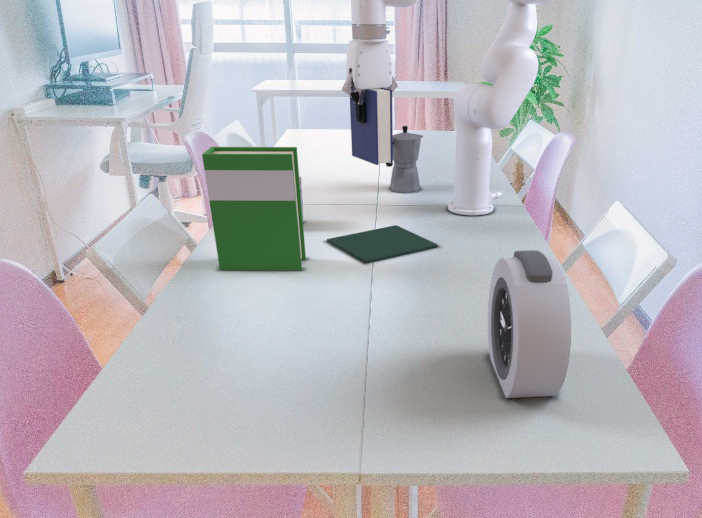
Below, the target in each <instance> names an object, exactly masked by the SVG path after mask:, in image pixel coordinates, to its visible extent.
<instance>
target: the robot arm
mask: <svg viewBox="0 0 702 518" xmlns="http://www.w3.org/2000/svg"><path fill="white" fill-rule="evenodd" d="M418 1H419V0H350V10H351V11H350V12H351V14H350V15H351V39H352V40H349V41H348V44H347V53H346V64H345V65H346V66H345V82H344V84H343V85H342V87H341V92H343V93H344V94H345V95H347V96H348V97H349V99H350V98H351V99H352V100H353V102H354V103H355V104H356V118H357V121H358V122H360V123H365V122H366V106H365V105H364V104H363V102H364V96H365V90H366V89H370V90H371V89H381V88H386V89H391V90H392V93H394V92H395V90H396V89H397V88H398V83H397V82H396V80H395V78H394V77H393V67H392V65H393V64H392V55H391V49H390V43H389V40H387V35H389V34H390V33H391V28H390V27H389V26H387V24H386V23H387V22H386V18H387V17H386V14H387V13H386V7H393V8H409V7H411V6H412V7H413V6H414V5H415V4H416V3H418ZM555 1H556V0H505V4H506V14H505V19H504V22H503V24H502V25H501V26H500V29H499V31H498V32H497V35H496V36H495V38H494V40H492V42H491V45H490V46H489V48H488V50H487V52H486V53H485V55H484V57H483V59H482V61H481V64H480V75H481V77H482V78H483V80H484V81H486V82H487V83H489V84H491V85H489V84H485V83H478V82H471V83H467V84H465V85H463V86H462V87H461V88H459V90H458V91H457V93H456V95H455V97H454V102H453V114H454V122H455V158H454V159H455V160H454V182H453V183H454V184H453V200H452V201H450V202H449V203H448V204H447V210H448V211H450V213H453V214H457V215H463V216H482V215H483V216H484V215H487V214H490V213H492V212H493V211H494V207H495V206H494V204H493V203H492V202H493V201H494V200H499V199H502V197H503V194H502V192H501V191H495V192H493V191H491V190H490V185H491V184H490V183H491V182H490V181H491V169H492V168H491V167H492V152H493V133H492V130H500V129H503V128H505V127H506V126H508V125H509V123H510V122H511V121H512V119H513V118H514V117H515V115H516V114H517V112H518V110H519V109H520V107H521V105H522V104H523V102H524V100H525V99H526V98H527V95H529V93H530V91H531V89H532V87H533V85H534V84H535V81H536V79H537V76H538V72H539V59H538V57H537V54H536V52H535V51H534V50H533V49H532V48H530V47H531V45H532V42H533V41H534V40H535V37H536V34H537V30H538V13H537V6H538V5H539V6H546V5H549V4H552V3H554V2H555ZM536 5H537V6H536ZM351 89H355V92H353V91H352V90H351Z"/></svg>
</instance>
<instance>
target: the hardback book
mask: <svg viewBox="0 0 702 518" xmlns="http://www.w3.org/2000/svg"><path fill="white" fill-rule="evenodd" d="M201 157H202V164H203V169H204V176H205V181H206V189H207V190H206V191H207V195H208V201H209V208H210V209H209V210H210V215H211V221H212V226H213V235H214V240H215V246H216V254H217V260H218V266H219V271H302V270H303V263H302V261H306V260H307V254H306V242H305V231H304V222H303V217H304V216H303V217H302V205H301V192H300V180H299V177H300V169H299V159H298V158H299V157H298V147H297V146H210V147H209V148H208V149H207V150H205V151H204V152H203V153H202V154H201Z"/></svg>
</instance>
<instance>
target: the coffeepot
mask: <svg viewBox="0 0 702 518" xmlns="http://www.w3.org/2000/svg"><path fill="white" fill-rule="evenodd" d="M401 128H402V132H399V133H396V134H393V163H390V162H388V163H385V166H386V167H387V168H390V167H392V170H391V177H390V183H389V189H390V190H391V191H392V192H395V193H401V194H402V193H405V194H408V193H415V192H418V191H419V190H420V189H421V184H420V178H419V170H418V166H417V161H419V154H420V147H421V143H422V138H424V135H422V134H418V133H412V132H408V129H409V126H407V125H403V126H402V127H401Z"/></svg>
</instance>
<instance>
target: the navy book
mask: <svg viewBox="0 0 702 518" xmlns="http://www.w3.org/2000/svg"><path fill="white" fill-rule="evenodd" d="M351 90H352V91H353V92H355V89H351ZM363 104H364V105H365V106H366V122H365V123H360V122H358V121H357V118H356V104H355V103H354V102H353V100H352V99H351V98H350V97H349V112H350V114H349V115H350V137H351V140H350V141H351V156H352V157H355V158H357V159H360V160H362V161H365V162H366V163H367V162H368V163H371V164H373V165H375V166H379V165H381V164H386V163H388V162H389V163H393V164H394V161H393V135H394V134H393V92H392V90H391V89H387V88H381V89H371V90H370V89H366V90H365V96H364V102H363Z"/></svg>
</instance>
